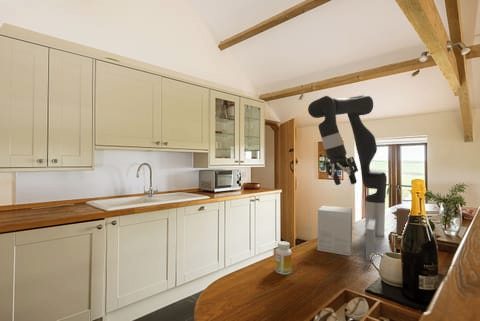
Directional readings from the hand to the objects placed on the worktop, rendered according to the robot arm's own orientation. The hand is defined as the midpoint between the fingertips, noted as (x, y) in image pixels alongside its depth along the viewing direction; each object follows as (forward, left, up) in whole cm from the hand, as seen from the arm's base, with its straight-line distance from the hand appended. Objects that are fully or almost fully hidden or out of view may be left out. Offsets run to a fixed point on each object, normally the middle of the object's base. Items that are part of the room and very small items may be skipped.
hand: (345, 184), depth 103 cm
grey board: (-12, +9, -29) cm, 32 cm away
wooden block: (-22, +23, -29) cm, 43 cm away
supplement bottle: (+27, -16, -29) cm, 43 cm away
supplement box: (-7, -5, -29) cm, 30 cm away
